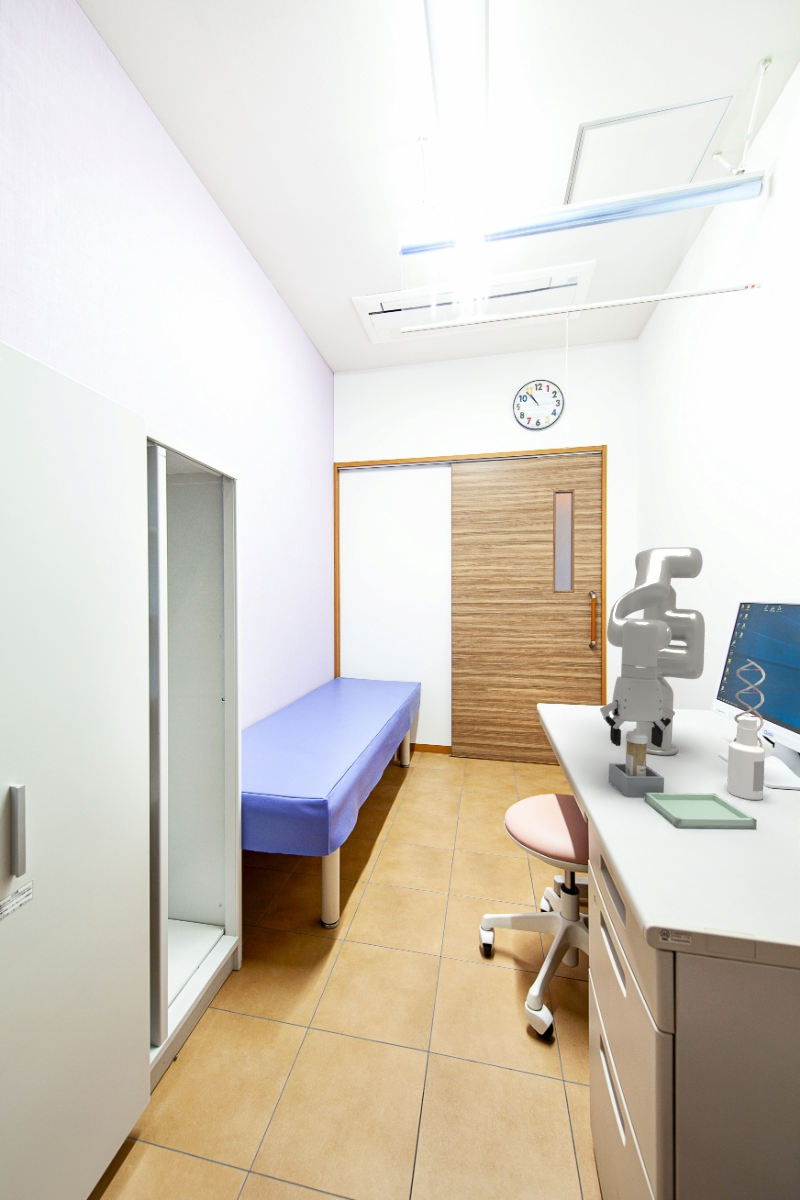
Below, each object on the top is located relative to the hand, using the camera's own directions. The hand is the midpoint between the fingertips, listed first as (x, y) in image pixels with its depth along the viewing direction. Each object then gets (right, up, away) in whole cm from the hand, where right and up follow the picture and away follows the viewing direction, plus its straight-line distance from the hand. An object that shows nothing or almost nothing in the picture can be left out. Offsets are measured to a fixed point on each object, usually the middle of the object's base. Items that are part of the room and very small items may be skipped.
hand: (636, 745), depth 110 cm
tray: (+7, -11, -11) cm, 17 cm away
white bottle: (+25, -12, -1) cm, 28 cm away
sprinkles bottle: (0, -11, +1) cm, 11 cm away
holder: (0, -11, +1) cm, 11 cm away
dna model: (+34, -11, +10) cm, 37 cm away
